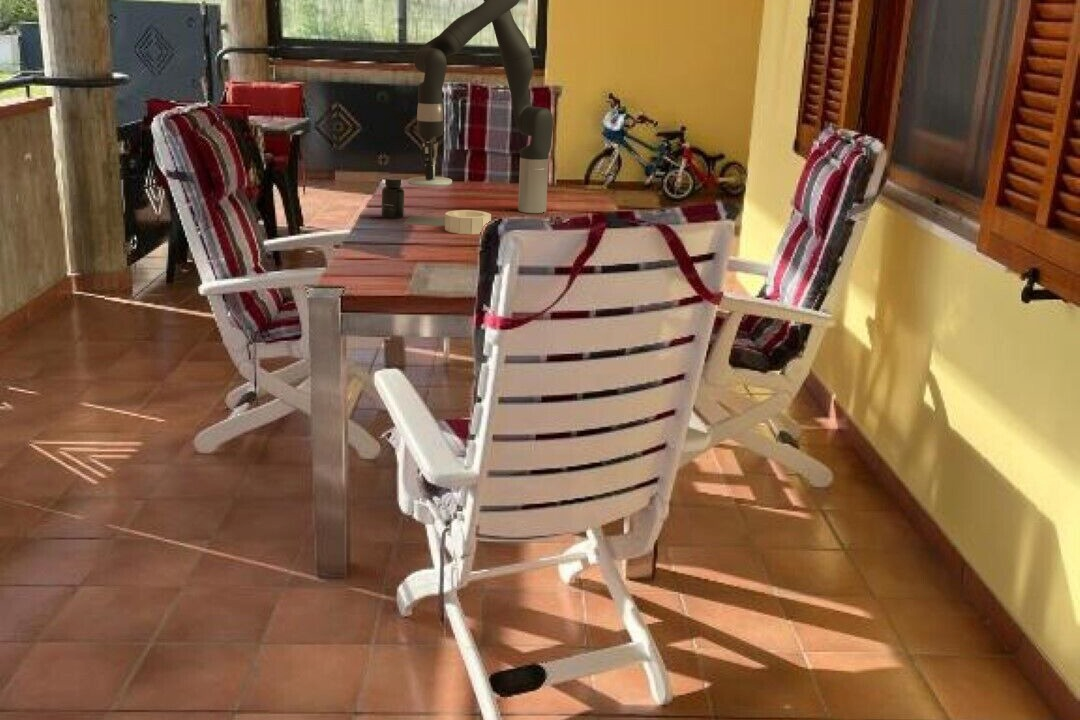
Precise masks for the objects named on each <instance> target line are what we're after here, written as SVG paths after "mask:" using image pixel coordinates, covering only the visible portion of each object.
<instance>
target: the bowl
mask: <svg viewBox="0 0 1080 720" xmlns="http://www.w3.org/2000/svg"><path fill="white" fill-rule="evenodd" d="M444 218H445V226H444V231H446V232H448V233H453V234H460V235H481V234H480V232H481V230H482V228H483V226H484V225H485V224H486V223H488V222H489V221H491V222H492V214H491V213H489V212H487V211H483V210H482V211H481V210H472V209H471V210H470V209H460V210H456V209H455V210H451V211H446V212H445V214H444Z"/></svg>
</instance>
